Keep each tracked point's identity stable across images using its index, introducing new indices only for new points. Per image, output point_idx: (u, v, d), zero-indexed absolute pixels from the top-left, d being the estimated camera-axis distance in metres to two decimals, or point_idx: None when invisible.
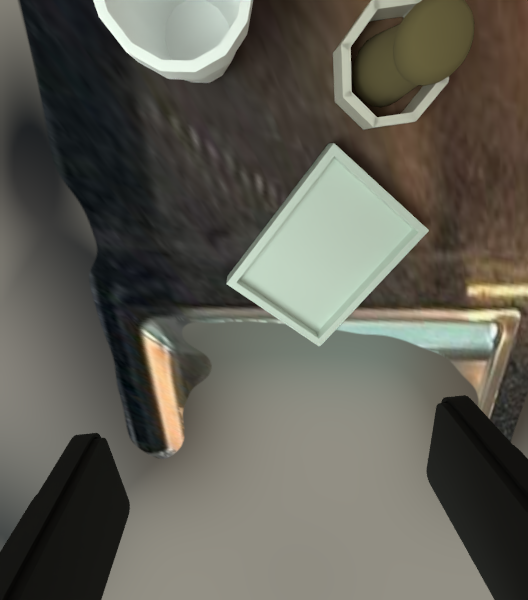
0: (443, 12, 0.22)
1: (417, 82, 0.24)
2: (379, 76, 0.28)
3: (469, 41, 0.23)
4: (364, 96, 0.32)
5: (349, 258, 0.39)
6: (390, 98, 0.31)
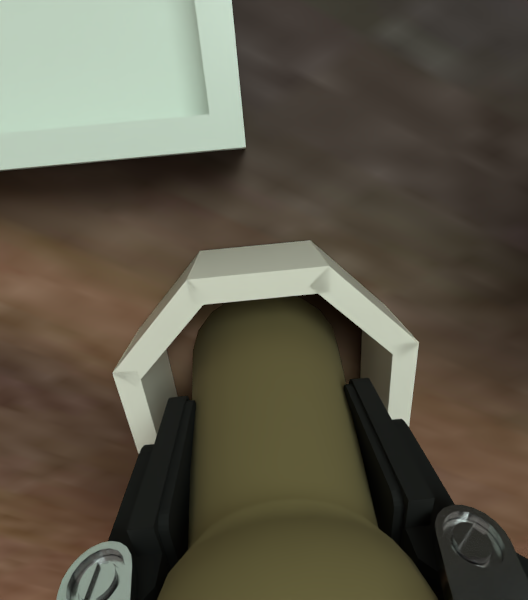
0: None
1: None
2: (299, 386, 0.09)
3: None
4: (264, 303, 0.12)
5: None
6: (215, 356, 0.11)
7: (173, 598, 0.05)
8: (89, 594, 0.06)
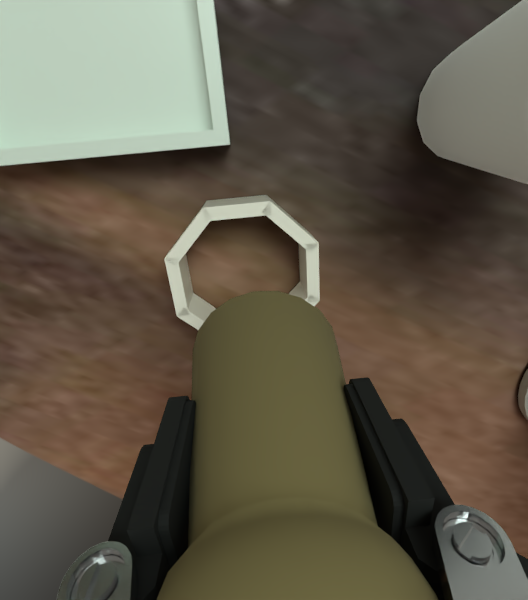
0: None
1: None
2: (298, 385, 0.09)
3: None
4: (264, 303, 0.12)
5: None
6: (215, 355, 0.11)
7: (173, 596, 0.05)
8: (89, 594, 0.06)
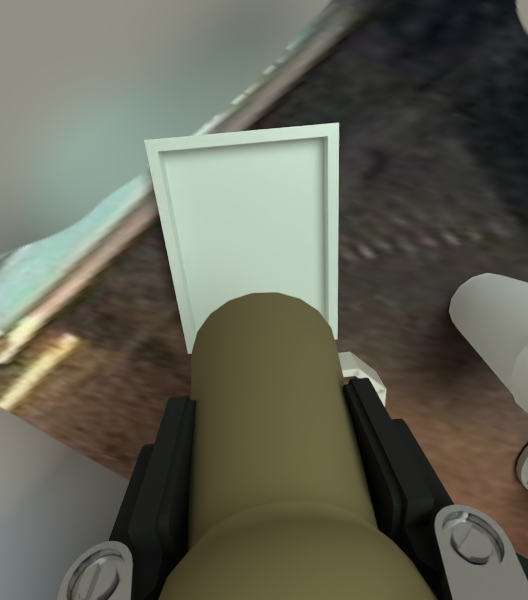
0: None
1: None
2: (298, 387, 0.09)
3: None
4: (263, 304, 0.12)
5: (222, 267, 0.30)
6: (214, 357, 0.11)
7: None
8: (90, 594, 0.06)
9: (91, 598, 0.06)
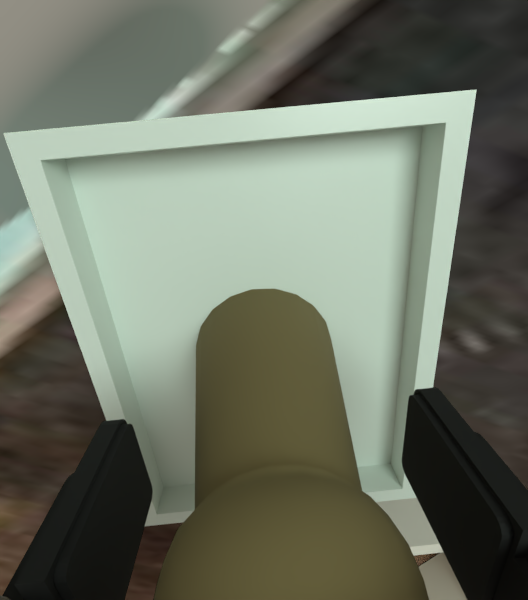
0: None
1: (221, 550, 0.05)
2: (292, 372, 0.10)
3: None
4: (261, 299, 0.13)
5: None
6: (216, 348, 0.12)
7: (183, 542, 0.06)
8: None
9: None
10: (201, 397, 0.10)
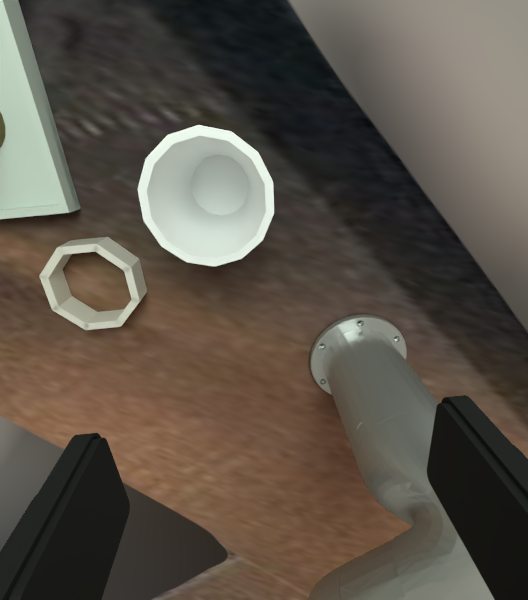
0: None
1: None
2: None
3: None
4: None
5: None
6: None
7: None
8: None
9: None
10: None
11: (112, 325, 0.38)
